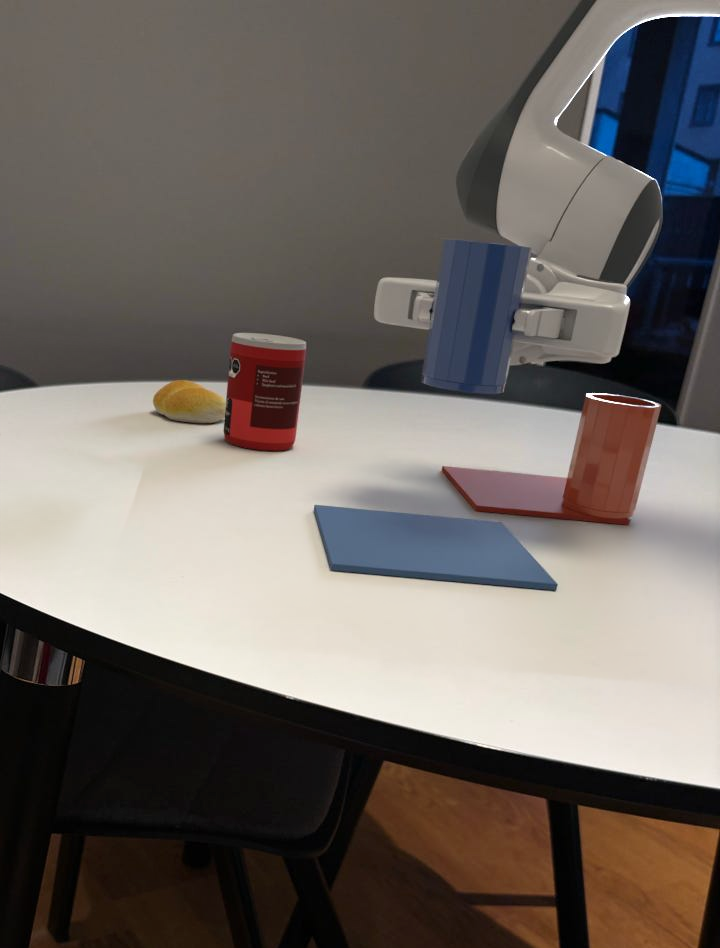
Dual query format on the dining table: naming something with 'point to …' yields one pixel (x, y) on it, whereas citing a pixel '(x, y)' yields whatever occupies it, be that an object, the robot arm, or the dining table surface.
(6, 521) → the dining table surface
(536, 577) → the blue mat
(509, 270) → the blue cup
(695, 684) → the dining table surface
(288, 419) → the canned food
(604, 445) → the red cup
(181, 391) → the bread roll
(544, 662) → the dining table surface
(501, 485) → the red mat
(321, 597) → the dining table surface
